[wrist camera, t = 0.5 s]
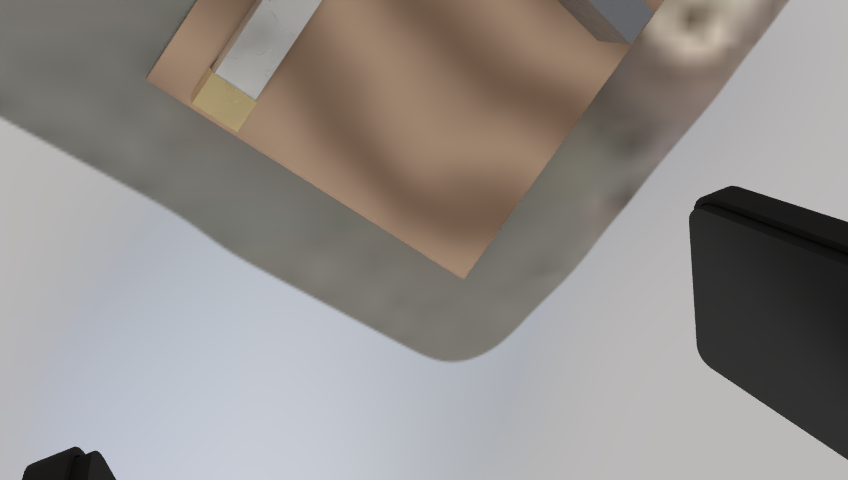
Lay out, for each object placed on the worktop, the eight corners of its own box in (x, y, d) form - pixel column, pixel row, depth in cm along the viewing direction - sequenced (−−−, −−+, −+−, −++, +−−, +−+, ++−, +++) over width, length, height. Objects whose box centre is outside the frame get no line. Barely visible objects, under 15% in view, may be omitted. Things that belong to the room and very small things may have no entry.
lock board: (415, -339, 29) (427, -355, 28) (671, -34, 38) (689, -36, 37) (147, 75, 31) (145, 79, 29) (453, 269, 40) (463, 279, 39)
